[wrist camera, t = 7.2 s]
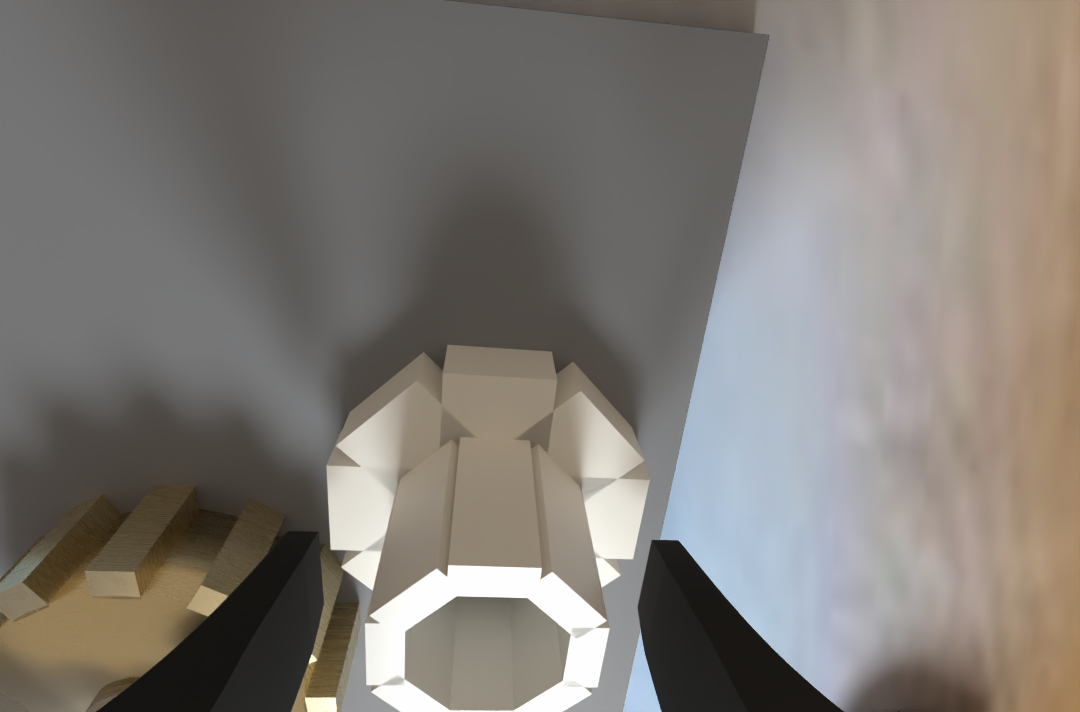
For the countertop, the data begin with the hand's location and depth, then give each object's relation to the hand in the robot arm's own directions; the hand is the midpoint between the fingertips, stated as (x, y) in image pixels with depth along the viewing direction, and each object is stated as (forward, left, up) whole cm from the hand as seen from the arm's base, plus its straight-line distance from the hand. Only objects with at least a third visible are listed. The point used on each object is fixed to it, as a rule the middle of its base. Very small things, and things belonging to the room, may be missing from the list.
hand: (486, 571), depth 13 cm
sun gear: (-8, -5, -3) cm, 10 cm away
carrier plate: (-4, 0, -4) cm, 6 cm away
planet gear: (0, 0, -3) cm, 3 cm away
